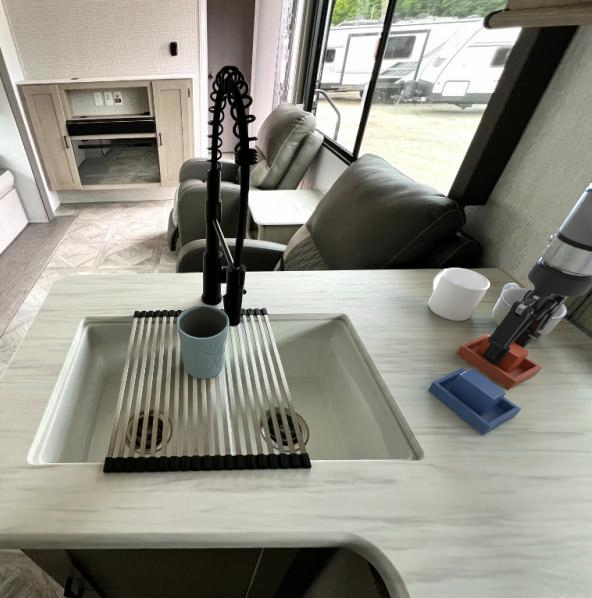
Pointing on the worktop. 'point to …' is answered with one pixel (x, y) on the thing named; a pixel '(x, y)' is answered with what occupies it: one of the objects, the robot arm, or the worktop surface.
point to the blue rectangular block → (476, 391)
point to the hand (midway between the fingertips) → (495, 361)
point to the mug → (457, 293)
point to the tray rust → (505, 379)
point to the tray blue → (480, 423)
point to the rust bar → (510, 358)
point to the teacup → (514, 294)
